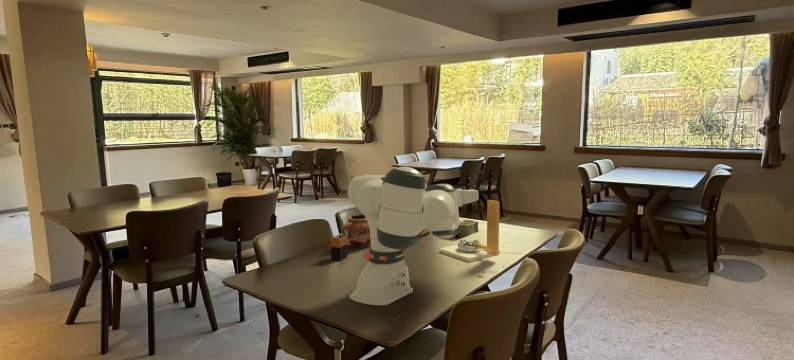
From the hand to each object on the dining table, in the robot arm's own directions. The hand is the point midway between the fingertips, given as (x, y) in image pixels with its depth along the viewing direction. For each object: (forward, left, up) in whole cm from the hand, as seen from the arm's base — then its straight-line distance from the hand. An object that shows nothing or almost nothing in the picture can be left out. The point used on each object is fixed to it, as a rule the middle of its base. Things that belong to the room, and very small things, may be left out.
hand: (468, 192), depth 178 cm
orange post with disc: (+13, 0, -27) cm, 30 cm away
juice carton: (+45, +18, -29) cm, 57 cm away
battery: (-15, +51, -29) cm, 60 cm away
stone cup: (+36, +37, -29) cm, 59 cm away
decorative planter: (+4, +53, -29) cm, 60 cm away
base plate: (+16, +4, -29) cm, 33 cm away
